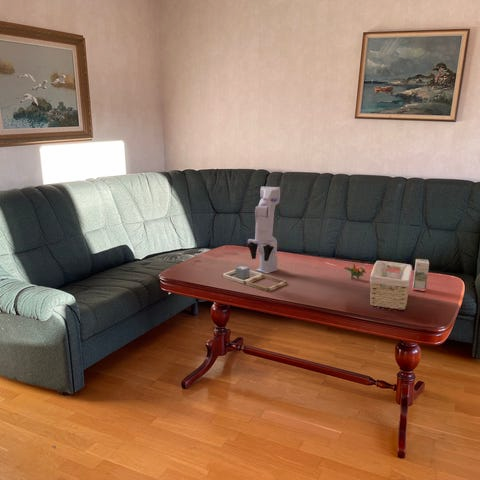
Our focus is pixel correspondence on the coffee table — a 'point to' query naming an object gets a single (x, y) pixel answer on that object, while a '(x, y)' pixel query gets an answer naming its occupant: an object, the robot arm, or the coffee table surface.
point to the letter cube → (242, 272)
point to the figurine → (355, 271)
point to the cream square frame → (226, 275)
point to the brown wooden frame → (282, 282)
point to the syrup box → (420, 274)
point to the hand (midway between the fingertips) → (259, 259)
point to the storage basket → (390, 284)
